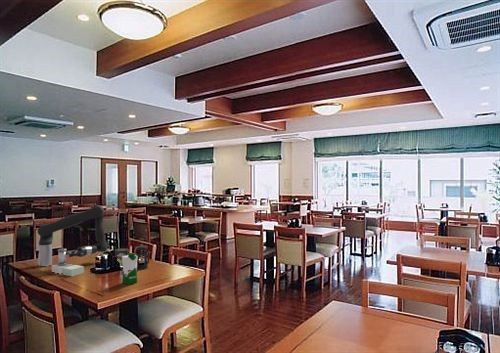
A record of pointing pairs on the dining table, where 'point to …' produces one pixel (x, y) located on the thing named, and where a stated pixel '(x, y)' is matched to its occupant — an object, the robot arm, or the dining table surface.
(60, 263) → the cylinder
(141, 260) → the french press
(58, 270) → the stand
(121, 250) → the coffee can
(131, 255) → the milk carton
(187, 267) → the dining table surface
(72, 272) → the stand
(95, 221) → the robot arm
